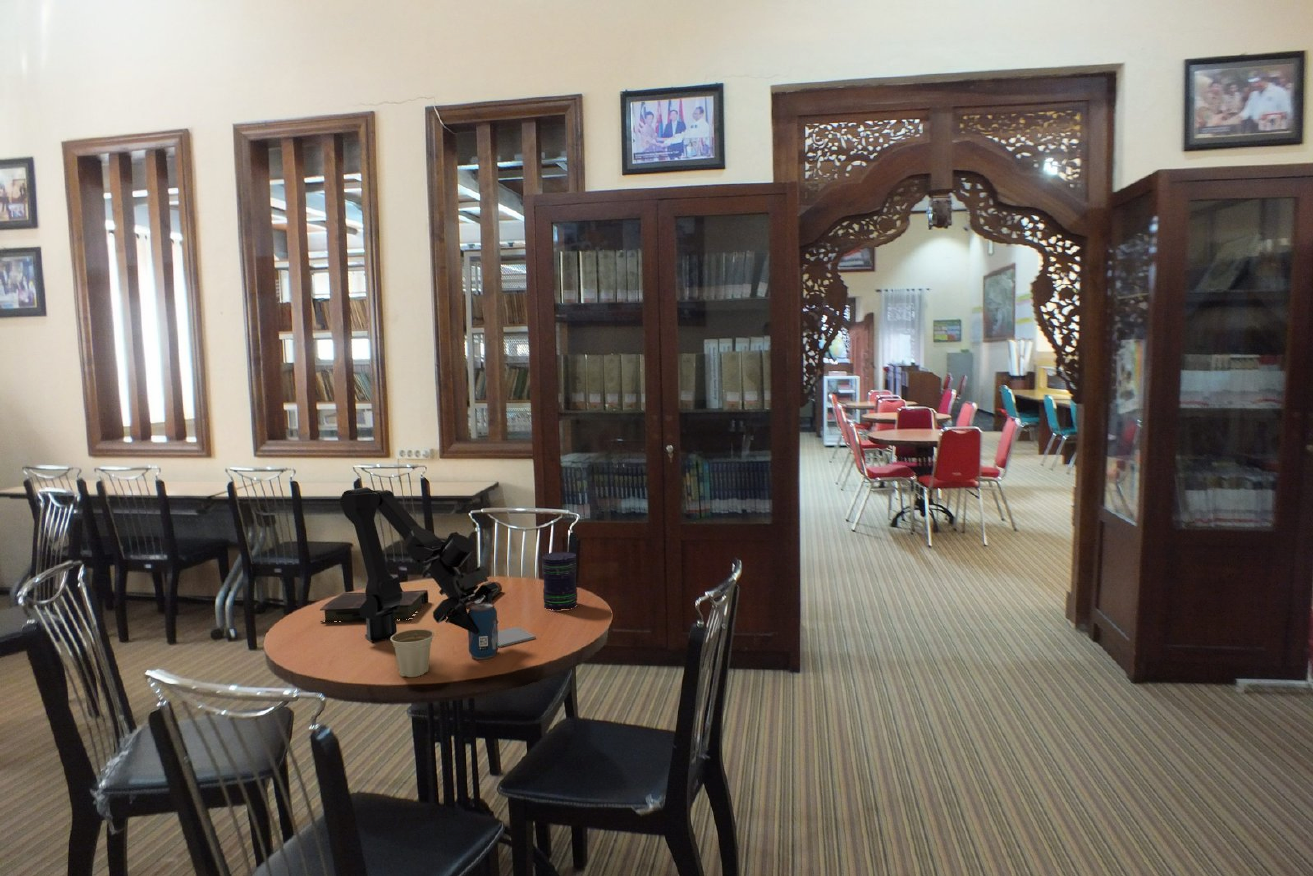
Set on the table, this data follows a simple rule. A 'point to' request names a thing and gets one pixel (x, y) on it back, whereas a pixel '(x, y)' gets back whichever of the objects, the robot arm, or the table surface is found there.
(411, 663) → the flower pot
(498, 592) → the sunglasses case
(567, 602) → the storage jar
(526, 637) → the coaster
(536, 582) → the table surface
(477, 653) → the soda can
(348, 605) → the diary
